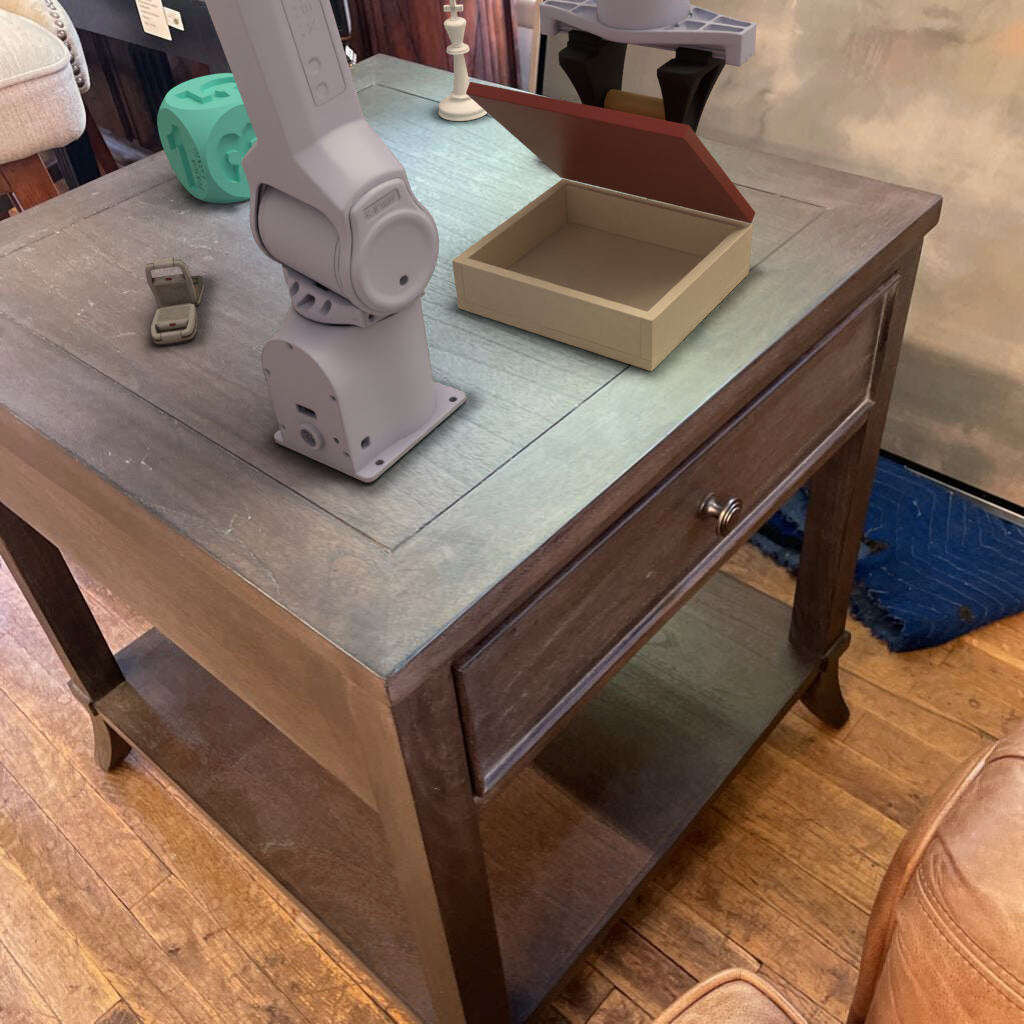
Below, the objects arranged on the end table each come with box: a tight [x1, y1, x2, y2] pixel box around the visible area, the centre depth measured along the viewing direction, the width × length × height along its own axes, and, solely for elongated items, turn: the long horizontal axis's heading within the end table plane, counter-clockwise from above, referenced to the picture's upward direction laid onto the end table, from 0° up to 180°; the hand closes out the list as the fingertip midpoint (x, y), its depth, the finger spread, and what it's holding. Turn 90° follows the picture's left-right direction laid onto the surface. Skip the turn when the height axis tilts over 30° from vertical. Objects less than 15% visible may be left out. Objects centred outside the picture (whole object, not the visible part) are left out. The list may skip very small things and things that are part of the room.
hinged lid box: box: [451, 178, 754, 372], centre depth 74 cm, size 14×16×4 cm
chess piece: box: [438, 0, 488, 122], centre depth 97 cm, size 5×5×10 cm
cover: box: [466, 81, 756, 224], centre depth 70 cm, size 14×16×5 cm
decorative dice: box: [156, 72, 257, 204], centre depth 90 cm, size 8×8×8 cm
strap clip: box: [144, 257, 205, 345], centre depth 76 cm, size 8×3×4 cm, turn 7°
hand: (643, 154), depth 73 cm, fingers closed on cover, 5 cm apart
